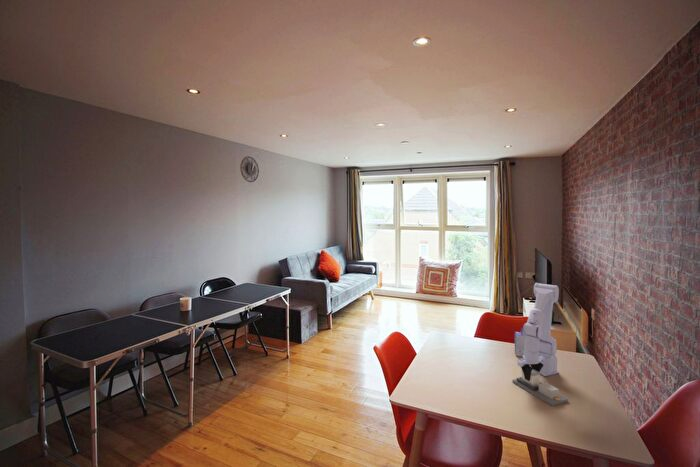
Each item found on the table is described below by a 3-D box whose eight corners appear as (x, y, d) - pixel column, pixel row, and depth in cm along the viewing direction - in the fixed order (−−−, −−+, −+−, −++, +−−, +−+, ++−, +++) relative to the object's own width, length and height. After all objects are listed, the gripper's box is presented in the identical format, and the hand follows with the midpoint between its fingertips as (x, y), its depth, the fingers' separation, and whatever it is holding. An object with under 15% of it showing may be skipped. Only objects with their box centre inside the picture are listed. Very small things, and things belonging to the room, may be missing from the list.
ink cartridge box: (533, 354, 176) (534, 328, 175) (535, 358, 171) (536, 332, 170) (513, 351, 179) (514, 327, 179) (515, 356, 174) (516, 330, 173)
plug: (528, 378, 147) (528, 366, 147) (539, 385, 141) (539, 372, 141) (521, 380, 146) (521, 367, 145) (533, 387, 140) (533, 374, 140)
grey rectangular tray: (526, 378, 150) (526, 369, 150) (568, 401, 132) (568, 391, 131) (512, 382, 147) (512, 372, 147) (552, 406, 129) (553, 395, 128)
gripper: (535, 344, 148) (534, 371, 149) (512, 348, 144) (511, 377, 144) (549, 349, 142) (548, 379, 143) (525, 355, 137) (524, 385, 138)
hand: (531, 378), depth 143 cm, fingers closed on plug, 4 cm apart
